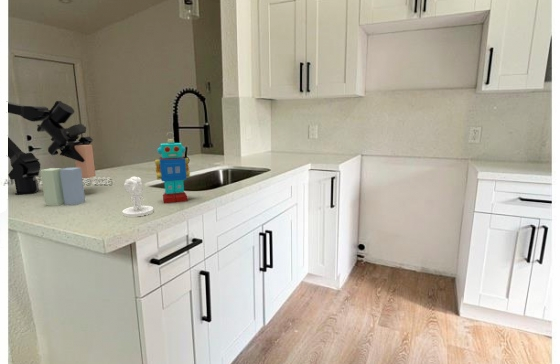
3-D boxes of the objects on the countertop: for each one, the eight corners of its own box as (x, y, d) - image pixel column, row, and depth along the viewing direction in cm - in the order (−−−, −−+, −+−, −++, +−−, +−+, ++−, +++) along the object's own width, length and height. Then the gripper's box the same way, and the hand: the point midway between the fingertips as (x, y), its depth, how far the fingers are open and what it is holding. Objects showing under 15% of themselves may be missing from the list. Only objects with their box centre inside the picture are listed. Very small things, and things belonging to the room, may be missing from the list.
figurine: (134, 219, 99) (130, 180, 96) (116, 214, 104) (112, 177, 101) (159, 211, 106) (156, 175, 104) (141, 207, 111) (138, 173, 109)
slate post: (64, 204, 115) (59, 169, 112) (73, 201, 119) (69, 167, 117) (76, 204, 114) (72, 169, 112) (85, 201, 119) (80, 167, 116)
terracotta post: (77, 177, 127) (73, 145, 124) (85, 175, 131) (81, 144, 128) (88, 178, 126) (84, 146, 124) (95, 175, 131) (92, 144, 128)
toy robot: (159, 204, 115) (153, 133, 110) (158, 199, 121) (152, 132, 115) (192, 200, 120) (188, 132, 114) (189, 196, 125) (185, 131, 120)
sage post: (45, 205, 114) (40, 170, 111) (55, 202, 118) (50, 168, 115) (57, 205, 113) (52, 170, 111) (67, 202, 118) (62, 168, 115)
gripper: (50, 117, 115) (83, 148, 116) (85, 116, 133) (114, 143, 135) (33, 139, 117) (66, 170, 119) (70, 135, 135) (98, 162, 137)
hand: (87, 160), depth 127 cm, fingers closed on terracotta post, 4 cm apart
